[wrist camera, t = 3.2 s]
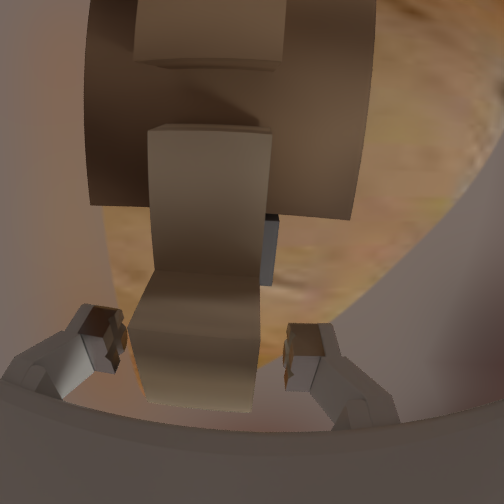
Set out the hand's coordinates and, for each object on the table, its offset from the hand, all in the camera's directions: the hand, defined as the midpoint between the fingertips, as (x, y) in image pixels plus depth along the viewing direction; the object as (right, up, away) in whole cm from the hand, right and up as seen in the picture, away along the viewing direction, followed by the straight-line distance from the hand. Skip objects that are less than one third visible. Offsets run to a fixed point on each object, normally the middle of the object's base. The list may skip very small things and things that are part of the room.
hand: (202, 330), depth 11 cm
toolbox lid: (+1, +12, -2) cm, 12 cm away
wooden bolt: (0, +3, +2) cm, 4 cm away
